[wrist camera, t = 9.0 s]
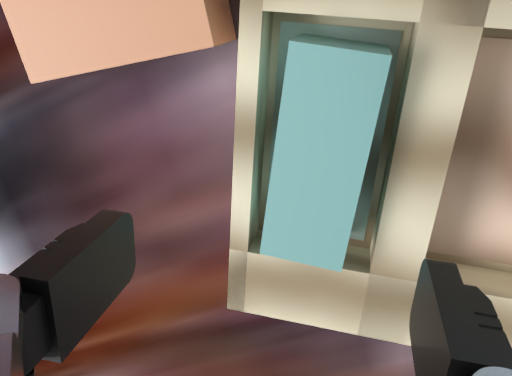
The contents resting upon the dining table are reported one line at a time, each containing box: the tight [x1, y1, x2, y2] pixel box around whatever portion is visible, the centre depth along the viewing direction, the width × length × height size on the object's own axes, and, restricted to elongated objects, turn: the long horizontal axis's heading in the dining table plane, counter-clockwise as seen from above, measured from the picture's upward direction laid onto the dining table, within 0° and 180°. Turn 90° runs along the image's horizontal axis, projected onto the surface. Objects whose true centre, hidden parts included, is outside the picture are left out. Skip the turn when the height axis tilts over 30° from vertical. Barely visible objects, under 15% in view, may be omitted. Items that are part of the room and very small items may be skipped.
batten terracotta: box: [0, 0, 236, 84], centre depth 22 cm, size 10×4×4 cm, turn 102°
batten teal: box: [260, 33, 392, 272], centre depth 21 cm, size 10×4×4 cm, turn 173°
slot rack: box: [227, 0, 512, 347], centre depth 22 cm, size 20×17×4 cm
